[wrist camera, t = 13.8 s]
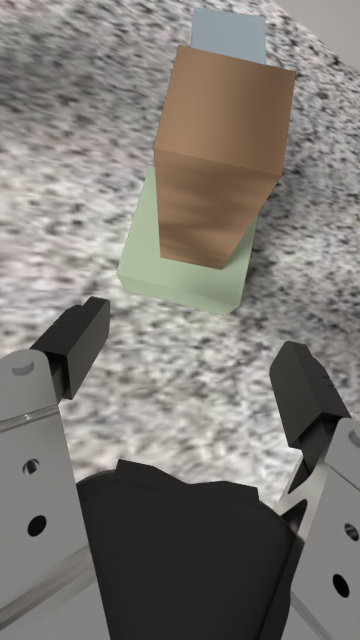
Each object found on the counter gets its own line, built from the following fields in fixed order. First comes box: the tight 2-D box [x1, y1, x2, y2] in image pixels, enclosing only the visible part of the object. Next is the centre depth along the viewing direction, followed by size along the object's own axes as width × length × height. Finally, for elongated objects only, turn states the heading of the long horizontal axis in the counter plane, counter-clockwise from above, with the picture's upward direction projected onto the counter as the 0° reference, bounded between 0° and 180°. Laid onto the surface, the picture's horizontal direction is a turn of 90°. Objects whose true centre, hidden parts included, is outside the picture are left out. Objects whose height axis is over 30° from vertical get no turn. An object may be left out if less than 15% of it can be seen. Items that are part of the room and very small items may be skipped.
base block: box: [116, 166, 259, 316], centre depth 22 cm, size 10×10×5 cm
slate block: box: [191, 8, 266, 65], centre depth 21 cm, size 5×5×10 cm
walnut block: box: [154, 45, 296, 270], centre depth 14 cm, size 5×5×10 cm
